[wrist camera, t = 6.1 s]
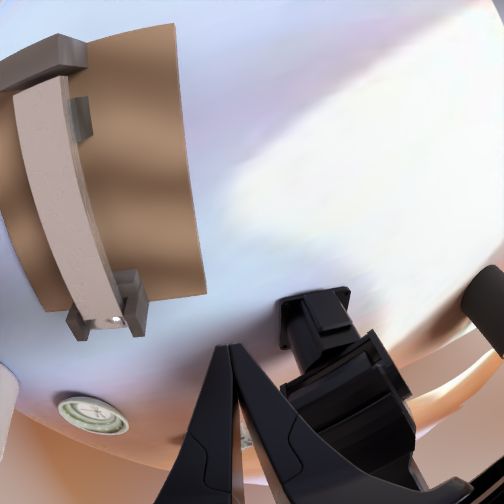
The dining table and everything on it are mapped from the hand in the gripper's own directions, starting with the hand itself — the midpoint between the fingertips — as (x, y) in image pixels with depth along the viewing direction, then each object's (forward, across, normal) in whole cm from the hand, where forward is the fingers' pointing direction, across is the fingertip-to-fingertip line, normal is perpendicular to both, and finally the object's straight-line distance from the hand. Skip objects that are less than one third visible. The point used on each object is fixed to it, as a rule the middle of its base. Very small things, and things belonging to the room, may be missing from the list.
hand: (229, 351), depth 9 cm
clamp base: (+12, +8, -3) cm, 15 cm away
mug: (+12, -36, +17) cm, 42 cm away
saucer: (+12, +19, +24) cm, 33 cm away
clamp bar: (+9, +8, -2) cm, 12 cm away
